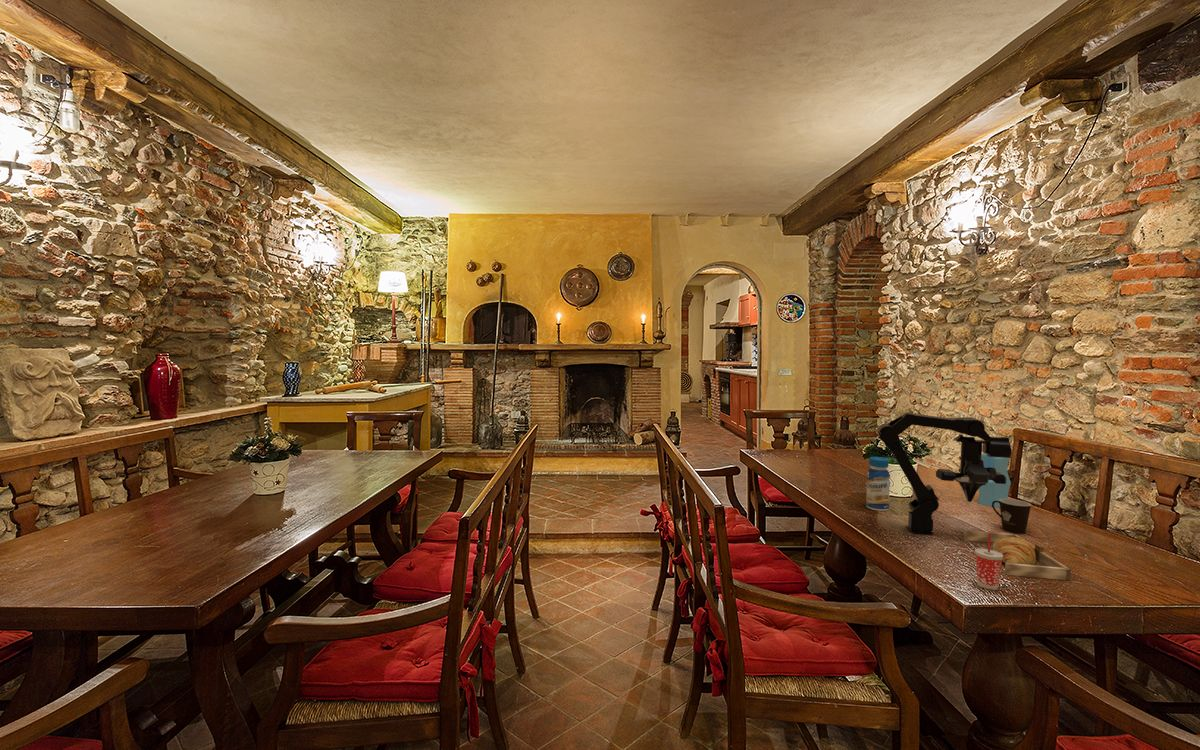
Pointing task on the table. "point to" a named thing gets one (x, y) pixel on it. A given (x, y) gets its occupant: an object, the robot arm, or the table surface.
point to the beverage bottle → (878, 484)
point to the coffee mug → (1013, 515)
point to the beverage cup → (988, 567)
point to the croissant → (1015, 550)
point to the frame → (1049, 571)
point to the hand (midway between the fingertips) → (969, 501)
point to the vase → (992, 489)
